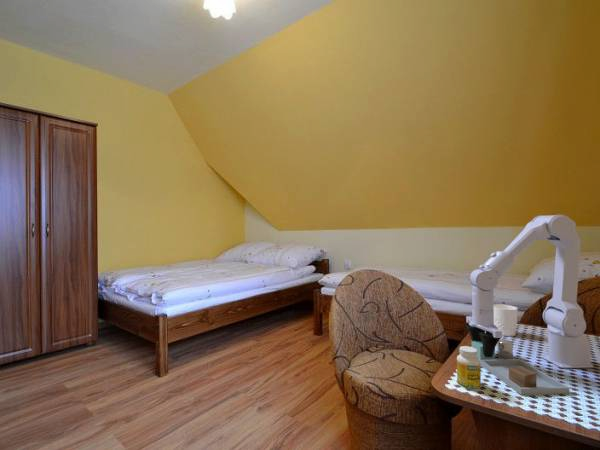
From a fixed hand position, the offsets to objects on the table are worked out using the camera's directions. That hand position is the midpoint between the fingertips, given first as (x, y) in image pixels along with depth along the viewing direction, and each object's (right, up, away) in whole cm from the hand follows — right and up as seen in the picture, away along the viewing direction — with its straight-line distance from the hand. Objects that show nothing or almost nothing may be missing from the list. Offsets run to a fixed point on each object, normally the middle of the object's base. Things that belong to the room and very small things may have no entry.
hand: (482, 353), depth 96 cm
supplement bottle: (-13, -2, -17) cm, 21 cm away
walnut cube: (-1, -1, -18) cm, 18 cm away
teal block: (0, -2, 0) cm, 2 cm away
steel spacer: (+7, -2, 0) cm, 7 cm away
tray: (+2, -2, -13) cm, 14 cm away
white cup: (+21, -2, +22) cm, 30 cm away
